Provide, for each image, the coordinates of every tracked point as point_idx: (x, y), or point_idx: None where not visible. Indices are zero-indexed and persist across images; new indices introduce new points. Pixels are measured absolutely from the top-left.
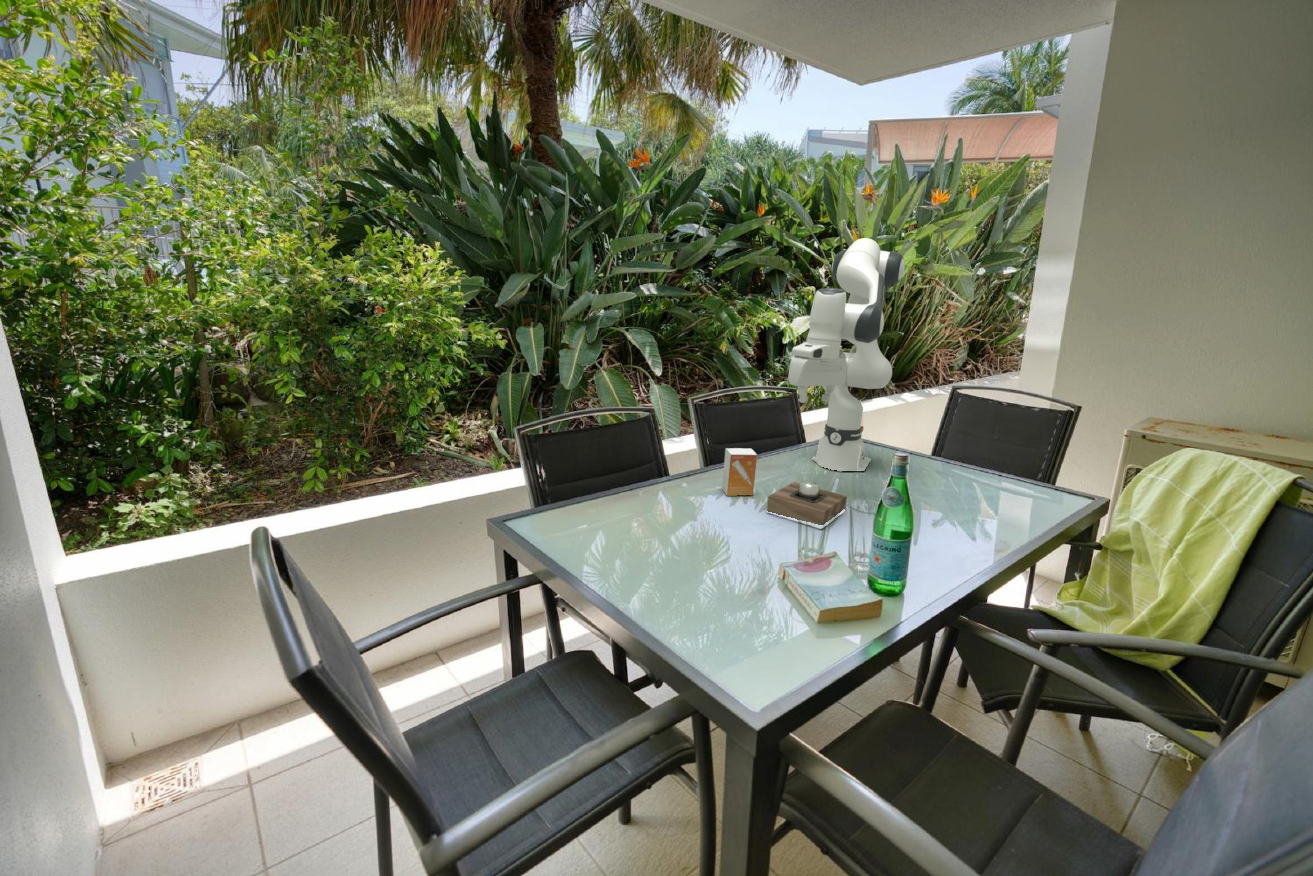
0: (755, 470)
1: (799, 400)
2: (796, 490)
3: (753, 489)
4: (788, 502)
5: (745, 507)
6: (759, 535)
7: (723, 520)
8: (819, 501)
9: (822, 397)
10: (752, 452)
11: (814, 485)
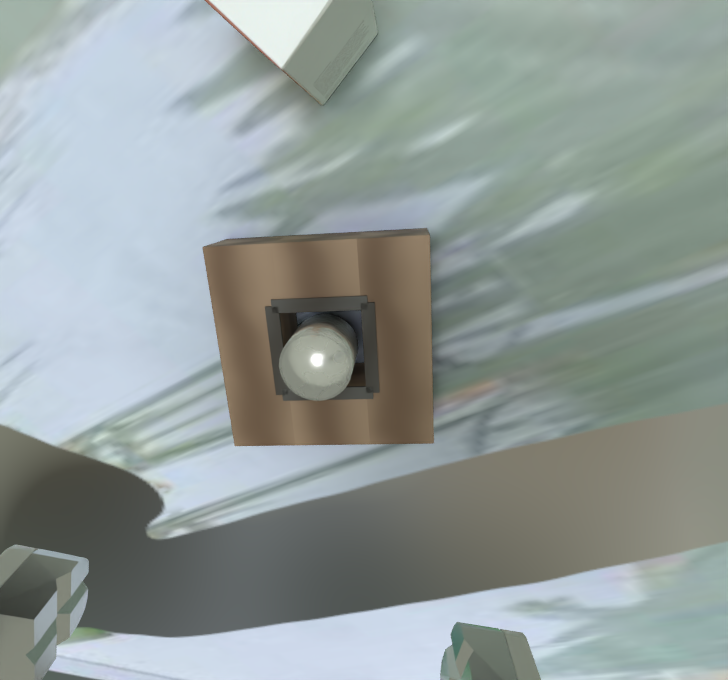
0: (301, 86)
1: (5, 556)
2: (341, 292)
3: (318, 101)
4: (216, 327)
5: (209, 154)
6: (78, 312)
7: (62, 169)
8: (307, 399)
9: (467, 660)
10: (290, 20)
11: (312, 388)
